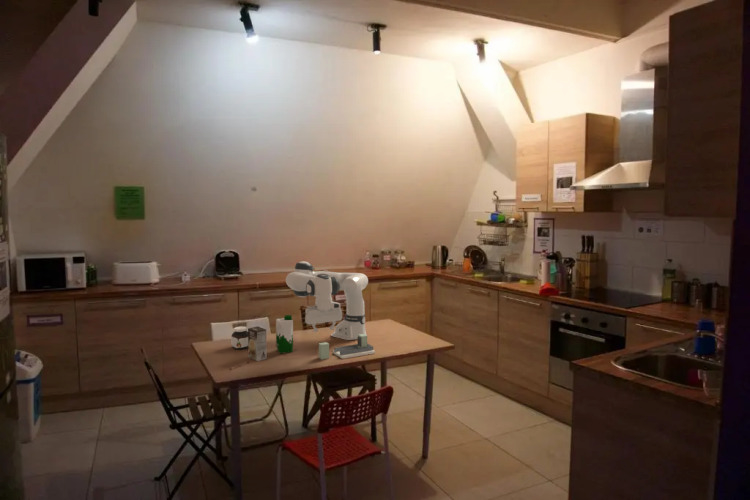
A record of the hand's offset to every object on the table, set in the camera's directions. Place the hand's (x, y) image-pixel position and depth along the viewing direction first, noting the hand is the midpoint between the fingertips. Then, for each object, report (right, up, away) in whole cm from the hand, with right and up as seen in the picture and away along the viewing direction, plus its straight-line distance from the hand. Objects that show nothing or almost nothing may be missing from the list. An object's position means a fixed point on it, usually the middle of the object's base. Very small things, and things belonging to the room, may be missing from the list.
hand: (323, 330), depth 270 cm
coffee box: (-36, -15, +1) cm, 39 cm away
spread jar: (-48, -13, +21) cm, 54 cm away
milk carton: (-23, -14, +14) cm, 30 cm away
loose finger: (0, -15, +2) cm, 15 cm away
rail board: (+16, -14, +10) cm, 23 cm away
